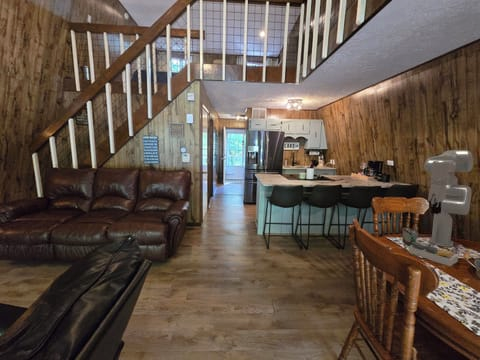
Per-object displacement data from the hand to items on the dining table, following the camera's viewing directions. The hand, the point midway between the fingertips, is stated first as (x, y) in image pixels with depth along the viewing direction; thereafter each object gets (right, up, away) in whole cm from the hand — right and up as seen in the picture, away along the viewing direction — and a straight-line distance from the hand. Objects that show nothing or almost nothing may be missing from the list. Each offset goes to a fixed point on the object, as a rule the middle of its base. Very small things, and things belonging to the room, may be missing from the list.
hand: (435, 213), depth 131 cm
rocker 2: (-2, -23, +2) cm, 23 cm away
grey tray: (0, -27, +3) cm, 27 cm away
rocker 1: (-5, -22, +7) cm, 24 cm away
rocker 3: (+1, -23, -4) cm, 24 cm away
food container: (+2, -25, +21) cm, 33 cm away
